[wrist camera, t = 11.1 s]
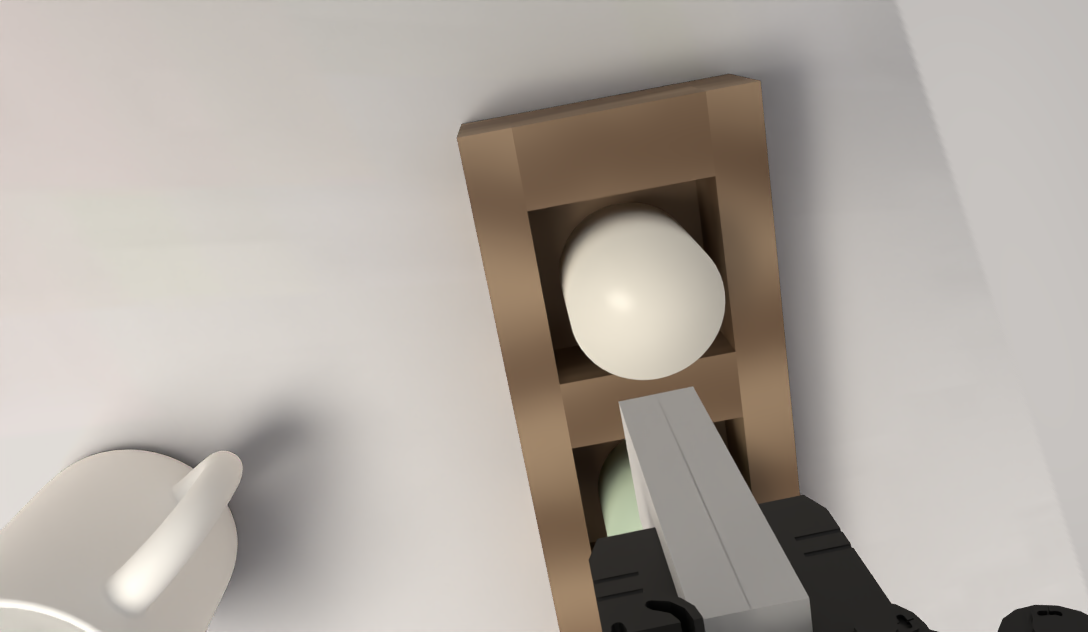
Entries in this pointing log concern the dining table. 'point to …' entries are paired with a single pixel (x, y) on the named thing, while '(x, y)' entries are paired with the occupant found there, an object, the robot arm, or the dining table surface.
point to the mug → (122, 546)
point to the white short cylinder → (640, 292)
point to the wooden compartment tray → (541, 315)
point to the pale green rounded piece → (618, 493)
